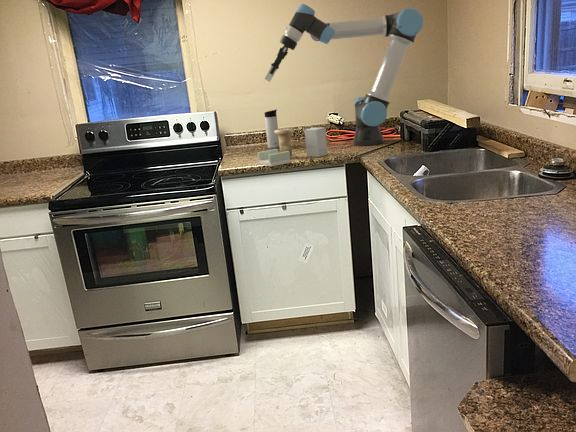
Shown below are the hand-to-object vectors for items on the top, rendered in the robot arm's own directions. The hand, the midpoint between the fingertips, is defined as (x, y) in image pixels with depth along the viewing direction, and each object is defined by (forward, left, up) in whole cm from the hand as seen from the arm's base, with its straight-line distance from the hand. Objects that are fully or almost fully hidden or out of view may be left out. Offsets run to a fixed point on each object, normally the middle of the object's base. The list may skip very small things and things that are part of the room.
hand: (267, 80), depth 238 cm
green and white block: (+8, +13, -36) cm, 39 cm away
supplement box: (-14, +15, -36) cm, 42 cm away
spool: (-2, +7, -36) cm, 37 cm away
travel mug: (-12, -23, -36) cm, 45 cm away
